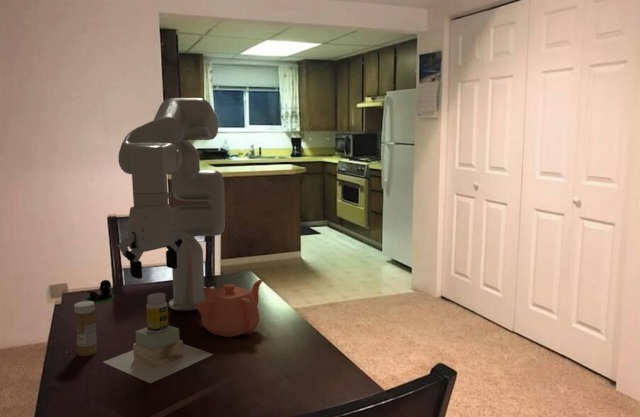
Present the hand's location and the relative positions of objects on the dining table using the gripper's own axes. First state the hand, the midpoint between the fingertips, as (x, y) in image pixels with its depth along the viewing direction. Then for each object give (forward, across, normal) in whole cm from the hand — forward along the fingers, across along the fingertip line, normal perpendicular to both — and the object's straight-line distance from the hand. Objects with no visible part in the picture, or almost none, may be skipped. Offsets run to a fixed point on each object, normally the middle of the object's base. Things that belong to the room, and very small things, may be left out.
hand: (154, 272), depth 122 cm
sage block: (+17, +1, 0) cm, 17 cm away
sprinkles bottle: (+22, +9, -16) cm, 29 cm away
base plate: (+22, +1, 0) cm, 22 cm away
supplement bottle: (+14, 0, 0) cm, 14 cm away
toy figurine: (+23, -18, -55) cm, 63 cm away
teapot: (+22, -23, +1) cm, 32 cm away
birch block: (+21, +1, 0) cm, 21 cm away
